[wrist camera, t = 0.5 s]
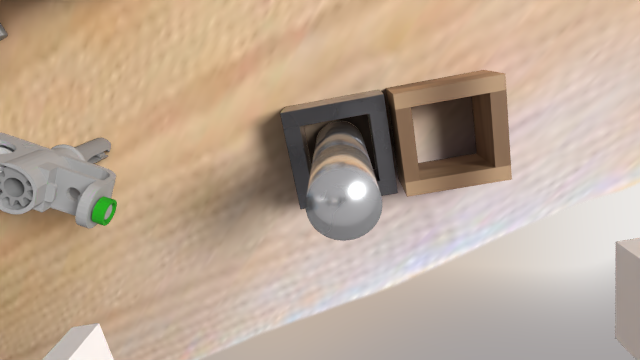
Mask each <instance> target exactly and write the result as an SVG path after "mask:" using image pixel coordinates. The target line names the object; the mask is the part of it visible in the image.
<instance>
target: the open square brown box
mask: <svg viewBox="0 0 640 360" xmlns="http://www.w3.org/2000/svg"><path fill="white" fill-rule="evenodd" d="M386 92H387V99H388V106H389V113H390V121H391V128H392V135H393V142H394V149H395V156H396V163H397V170H398V178H399V181H400V183H401V185H402V187H403V189H404V191H405V193H406V195H407V197H408V196H414V195H420V194H426V193H432V192H438V191H444V190H450V189H456V188H462V187H468V186H475V185H481V184H487V183H493V182H499V181H505V180H511V179H512V176H511V160H510V143H509V127H508V110H507V94H506V77H505V74H504V73H498V72H493V71H487V70H481V71H476V72H471V73H465V74H460V75H454V76H449V77H444V78H438V79H433V80H428V81H422V82H417V83H411V84H406V85H401V86H395V87H390V88H386ZM469 96H472V105H473V117H474V129H475V141H476V153H475V154H470V155H464V156H458V157H452V158H446V159H440V160H434V161H429V162H423V163H418V159H417V151H416V143H415V135H414V127H413V119H412V111H411V107H414V106H419V105H425V104H430V103H436V102H441V101H447V100H452V99H458V98H464V97H469Z"/></svg>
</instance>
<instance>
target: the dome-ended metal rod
mask: <svg viewBox="0 0 640 360" xmlns="http://www.w3.org/2000/svg"><path fill="white" fill-rule="evenodd" d="M381 211H382V197H381V193H380V190H379V187H378V184H377V181H376V178H375V175H374V171H373V168H372V165H371V162H370V159H369V156H368V153H367V149H366V146H365V143H364V140H363V137H362V134H361V132H360V131H359V129H358V128H357V127H356V126H354V125H353V124H351V123H349V122H346V121H334V122H331V123H329V124H327V125H325V126H324V127H323V128H322V129H321V130H320V132H319V134H318V136H317V139H316V144H315V150H314V156H313V162H312V167H311V173H310V179H309V185H308V191H307V196H306V213H307V216H308V218H309V221H310V222H311V224H312V225H313V227H314V228H315V229H316V230H317V231H318V232H320V233H321V234H323V235H324V236H326V237H329V238H331V239H335V240H352V239H356V238H359V237H361V236H363V235H365V234H366V233H368V232H369V231H370V230H371V229H372V228H373V227H374V226H375V225H376V223H377V222H378V220H379V218H380V215H381Z"/></svg>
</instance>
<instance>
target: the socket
mask: <svg viewBox="0 0 640 360" xmlns="http://www.w3.org/2000/svg"><path fill="white" fill-rule="evenodd" d="M364 114H367V115H368V121H369V127H370V134H371V140H372V147H373V153H374V160H375V166H376V169H374V170H373V171H374V175H375V178H376V181H377V184H378V187H379V190H380V193H381V196H383V195H389V194H395V193H398V191H397V184H396V177H395V170H394V163H393V156H392V149H391V142H390V135H389V128H388V121H387V114H386V107H385V100H384V94H383V93H382V92H381V91H380V90H374V91H368V92H363V93H358V94H352V95H347V96H341V97H336V98H331V99H325V100H320V101H314V102H309V103H304V104H298V105H293V106H288V107H284V109H283V110H282V111H281V113H280V115H281V120H282V125H283V129H284V134H285V139H286V143H287V148H288V153H289V157H290V162H291V167H292V171H293V176H294V181H295V185H296V190H297V195H298V199H299V204H300V209H304V208H306V196H307V191H308V185H309V179H310V173H311V167H312V165H311V160H310V155H309V150H308V145H307V140H306V135H305V130H304V125H309V124H315V123H320V122H326V121H331V120H337V119H342V118H348V117H353V116H359V115H364Z"/></svg>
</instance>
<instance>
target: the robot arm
mask: <svg viewBox="0 0 640 360" xmlns="http://www.w3.org/2000/svg"><path fill="white" fill-rule="evenodd" d="M615 301H616V302H615V304H616V305H615V324H616V325H615V338H616V339H617V340H618V341H619V342H620V343H621V345H622V346H623V347H624V348H625V349H626V350H627V351H628V352H629V353H630V354H631V355H632V356H633V357H634V358H635V359H636V360H640V238H636V239H630V240H623V241H617V242H616V298H615ZM42 360H114V359H113V357H112V354H111V352H110V349H109V347H108V344H107V342H106V339H105V337H104V334H103V332H102V329H101V327H100V324H99V323H96V324H90V325H83V326H77V327H72V328H71V329H70V330H69V331H68V332H67V333H66V334H65V335H64V336H63V337H62V339H61V340H60V341H59V342H58V343H57V344H56V345H55V346H54V347H53V348H52V349H51V351H50V352H49V353H48V354H47V355H46V356H45V357H44V358H43V359H42Z"/></svg>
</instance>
